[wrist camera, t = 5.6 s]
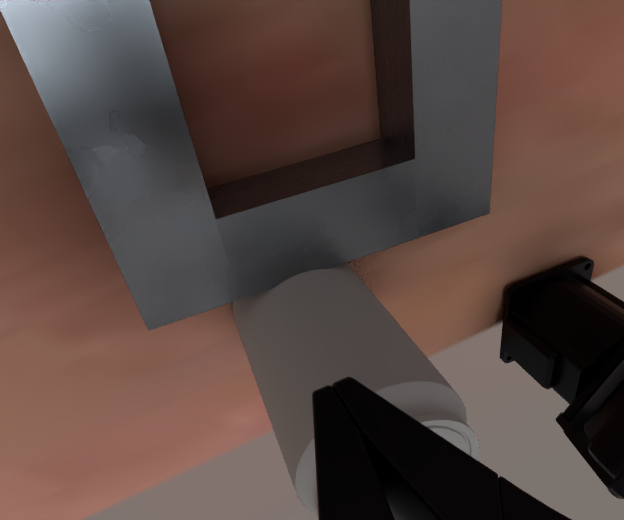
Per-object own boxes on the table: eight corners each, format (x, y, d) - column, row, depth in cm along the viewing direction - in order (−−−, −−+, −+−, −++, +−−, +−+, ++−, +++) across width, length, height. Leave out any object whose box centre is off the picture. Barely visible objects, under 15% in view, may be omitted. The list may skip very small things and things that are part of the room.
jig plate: (456, -241, 16) (518, -281, 14) (451, 190, 25) (489, 213, 22) (-66, -186, 13) (-108, -226, 10) (144, 290, 21) (148, 330, 19)
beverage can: (361, 301, 27) (504, 482, 17) (261, 359, 26) (350, 580, 16) (321, 212, 23) (474, 376, 13) (204, 277, 23) (274, 498, 13)
